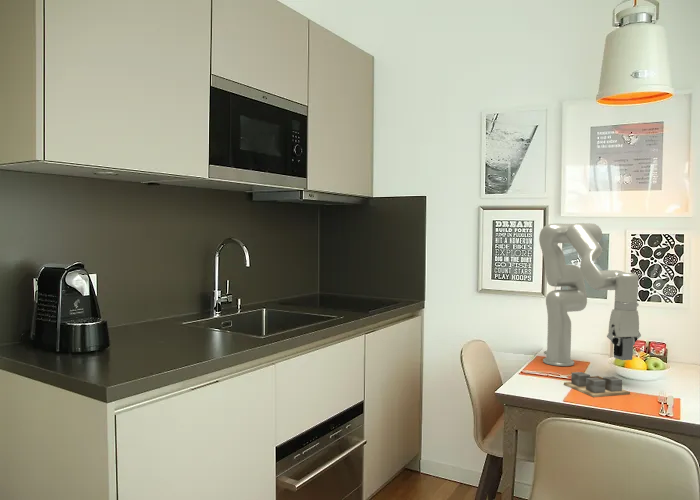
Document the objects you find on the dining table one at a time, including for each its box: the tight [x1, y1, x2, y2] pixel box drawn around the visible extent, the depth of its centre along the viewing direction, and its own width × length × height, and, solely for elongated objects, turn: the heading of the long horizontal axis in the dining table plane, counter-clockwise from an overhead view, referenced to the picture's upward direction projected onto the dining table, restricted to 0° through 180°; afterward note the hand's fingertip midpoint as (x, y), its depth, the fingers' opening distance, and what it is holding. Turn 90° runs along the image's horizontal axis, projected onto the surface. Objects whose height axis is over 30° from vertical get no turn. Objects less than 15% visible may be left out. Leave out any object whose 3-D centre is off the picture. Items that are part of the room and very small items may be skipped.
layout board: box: [563, 371, 631, 398], centre depth 203 cm, size 16×15×5 cm
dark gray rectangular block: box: [613, 337, 634, 361], centre depth 210 cm, size 4×4×8 cm
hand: (623, 354), depth 210 cm, fingers closed on dark gray rectangular block, 4 cm apart
